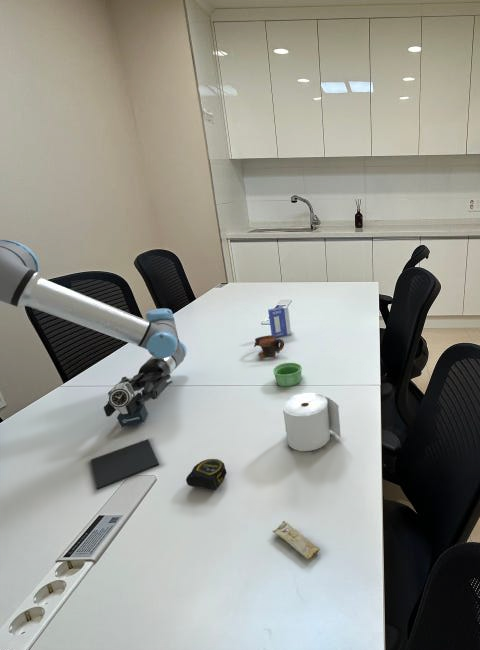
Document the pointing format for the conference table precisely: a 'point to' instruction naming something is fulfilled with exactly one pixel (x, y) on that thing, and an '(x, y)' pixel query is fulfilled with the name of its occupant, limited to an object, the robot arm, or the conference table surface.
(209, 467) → the tape measure
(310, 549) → the snack bar
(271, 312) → the walkman
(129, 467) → the dark mat
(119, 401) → the watch
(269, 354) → the pottery mug
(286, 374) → the ramekin
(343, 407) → the conference table surface
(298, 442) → the toilet tissue
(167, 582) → the conference table surface
